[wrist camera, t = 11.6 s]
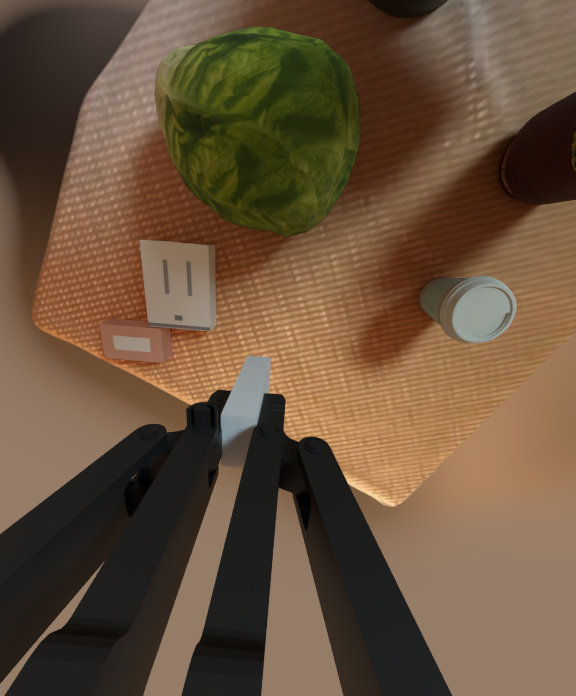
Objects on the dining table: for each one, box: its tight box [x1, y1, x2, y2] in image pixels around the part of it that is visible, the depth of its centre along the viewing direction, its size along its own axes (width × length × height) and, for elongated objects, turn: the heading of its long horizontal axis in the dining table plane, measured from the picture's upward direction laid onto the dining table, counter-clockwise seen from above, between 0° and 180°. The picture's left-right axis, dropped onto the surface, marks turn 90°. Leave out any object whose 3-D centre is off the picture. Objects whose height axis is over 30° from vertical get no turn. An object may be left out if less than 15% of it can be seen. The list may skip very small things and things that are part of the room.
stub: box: [99, 318, 172, 363], centre depth 47 cm, size 6×10×4 cm, turn 86°
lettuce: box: [155, 27, 360, 237], centre depth 31 cm, size 19×23×18 cm
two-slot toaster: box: [139, 240, 216, 331], centre depth 44 cm, size 13×10×4 cm
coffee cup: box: [419, 276, 516, 343], centre depth 39 cm, size 8×9×12 cm
